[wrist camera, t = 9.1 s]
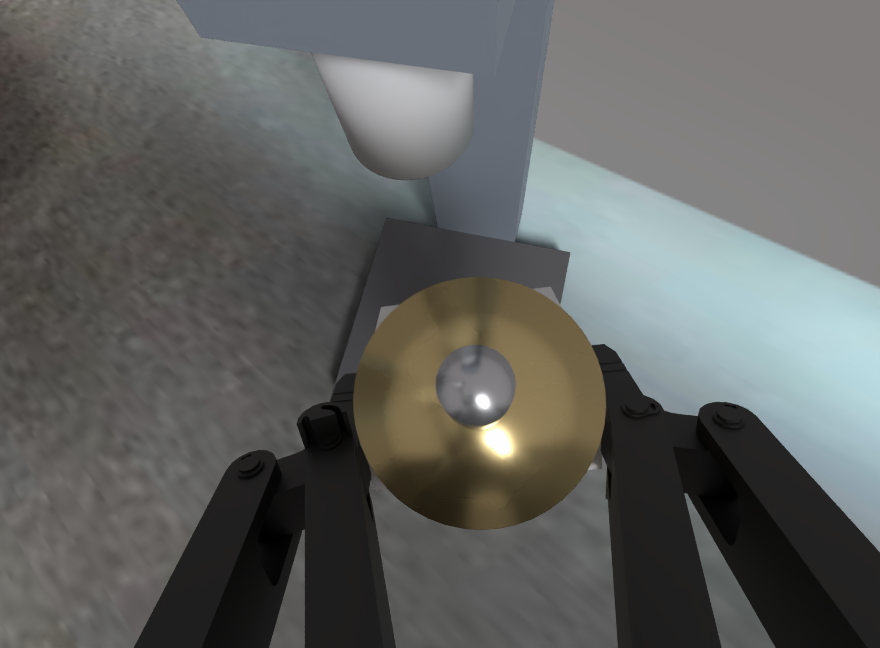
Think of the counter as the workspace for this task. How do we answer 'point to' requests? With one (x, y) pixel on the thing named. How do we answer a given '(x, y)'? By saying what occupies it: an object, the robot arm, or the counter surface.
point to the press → (423, 125)
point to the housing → (479, 403)
